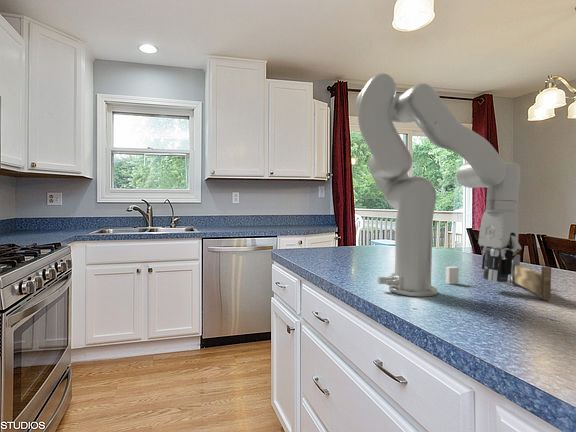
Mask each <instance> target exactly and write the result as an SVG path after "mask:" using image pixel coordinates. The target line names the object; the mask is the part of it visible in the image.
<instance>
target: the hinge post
mask: <svg viewBox="0 0 576 432" xmlns="http://www.w3.org/2000/svg"><path fill="white" fill-rule="evenodd" d="M515 266H521V255H520V254H517V255H516V256H515V257H514V260H512V267H511V274H510V275H509V279H508V281H507V282H506V283H503V284H504V285H508V286H511V287H522V286H521V285H519V284H517V283H515Z"/></svg>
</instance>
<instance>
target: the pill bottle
mask: <svg viewBox="0 0 576 432" xmlns="http://www.w3.org/2000/svg"><path fill="white" fill-rule="evenodd" d="M506 247H507V246H506ZM506 247H504V248H506ZM507 253H508V251H506V254H507ZM500 259H502V256H501V251H500V249H497V248H491V247H488V248H487V249H486V252H485V262H484V269H483V273H482V278H483V280H485V281H488V282H493V283H498V284H499V283H501V284H504V283H506V282H507V281H508V280H509V275H504V274H499V263H500Z"/></svg>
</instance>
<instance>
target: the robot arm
mask: <svg viewBox="0 0 576 432" xmlns="http://www.w3.org/2000/svg"><path fill="white" fill-rule="evenodd" d="M355 103H356V104H355V105H356V108H357V111H358V112H357V114H358V115H357V117H358V118H357V121H358V128H359V130H360V134H361V135H362V137H363V139H364V142H365V144H366V146H367V147H368V149H369V151H370V152H371V155H370V157H369V160H368V169H369V172H370V175H371V177H372V178H373V180H374V182H375V184H376V186H377V187H378V189H379V191H380V192H381V194H382V196H383V197H384V199H385V200H386V202H387V203H388V204H389V205H390V207H391V208H392V209H395V210H397V213H396V219H395V242H394V243H395V247H394V251H395V252H394V253H395V254H394V272H391V275H389V276H386V277H385V276H378V277H377V283H378V285H386V286H388V290H389V291H390V292H391V293H394V294H398V295H402V296H407V297H408V296H409V297H421V298H422V297H423V298H424V297H432V296H436V295H437V294H438V288H437V287H435V286H432V266H433V265H432V262H433V259H432V257H433V256H432V255H433V224H434V221H433V219H434V214H435V208H436V203H437V190H436V187H435V185H434V183H432V182H431V180H429V179H427V178H426V177H423V176H418V175H417V176H409V174H408V172H409V171H410V170H411V168H412V166H413V158H412V157H413V156H412V154H411V151H410V150H409V149H408V147H407V145H406V144H405V142H404V141H403V138H402V137H401V136H400V133H399V132H398V130H397V129H396V127H395V125H394V123H404V124H405V123H413V122H415V124H416V125H417V126H418V127H419V128H420V130H421V131H422V133H423V134H424V135H425V136H426V138H427V139H428V140H429V142H430V143H431V144H432V145H434V146H436V147H439V148H441V149H445V150H449V151H451V152H453V153H455V154H457V155H458V156H460V157H461V158H462V159H464V161H466V162H465V163H464V164H462V165H460V166H459V167H458V169H457V171H456V174H455V177H456V180H457V182H458V183H459V184H460V185H461V186H462V187H465V188H469V189H477V188H478V189H479V188H487V189H486V200H485V201H486V202H485V211H483V215H482V218H481V222H480V226H479V232H478V234H479V235H478V241H477V244H478V245H479V247H480V250H481V255H482V263H481V269H482V270H484V262H485V252H486V249H487V248H488V247H491V248H497V249H500V251H501V256H502V259H500V263H499V274H504V275H508V276H510V274H511V267H512V260H514V257H515V256H516V255H518V253H520V252H521V251H522V250H523V249H522V245H520V243H519V230H520V229H519V225H520V224H519V216H518V205H519V193H520V191H519V190H520V183H521V182H520V181H521V169H522V168H521V166H520V164H518V163H516V162H509V161H508V162H507V161H506V162H504V160H503V158H502V157H501V156H500V153H499V152H498V151H497V150H496V149H495V147H494V146H493V145H492V144H491V143H490V142H489V141H488V139H486V138H485V137H483V136H482V135H480V134H479V133H477V132H476V131H474V130H472V129H471V128H469V127H467V126H465V125H463V124H462V123H461V122H460V121H459V120H458V119H457V118H456V116H455V115H454V113H453V112H452V111H451V109H449V107H448V106H447V105H446V103H445V102H444V101H443V99H441V97H440V95H439V94H438V93H437V91H435V89H434V88H433V87H432V86H431V85H430V84H428V83H418V84H415V85H413V86H411V87H410V88H409V89H407V90H406V91H405V92H403V93H399V92H397V86H396V81H395V80H394V78H393V77H392V76H391V75H389V74H387V73H383V72H382V73H378V74H376V75H374V76H372V77H371V78H370V79H369V80H367V83H366V84H365V85H364V87H363V88H362V89H361V91H360V92H359V94H358V95H357V98H356V102H355ZM506 246H507V247H506ZM504 247H506V248H504ZM506 251H508V253H507V254H506Z"/></svg>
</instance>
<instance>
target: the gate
mask: <svg viewBox="0 0 576 432" xmlns="http://www.w3.org/2000/svg"><path fill="white" fill-rule="evenodd" d="M515 283H517V284H519V285H521V286H520V287H522V288H525V289H527V290H529V291H531V292H533V293H534V294H536V295H538V296H540V299H542V300H547V301H548V300H549V301H550V300H551V293H552V292H551V291H552V287H551V286H552V267H550V266H541V273H539V272H537V271H534V270H533V269H529V268H527V267H525V266H522V265H520V266H515Z"/></svg>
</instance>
